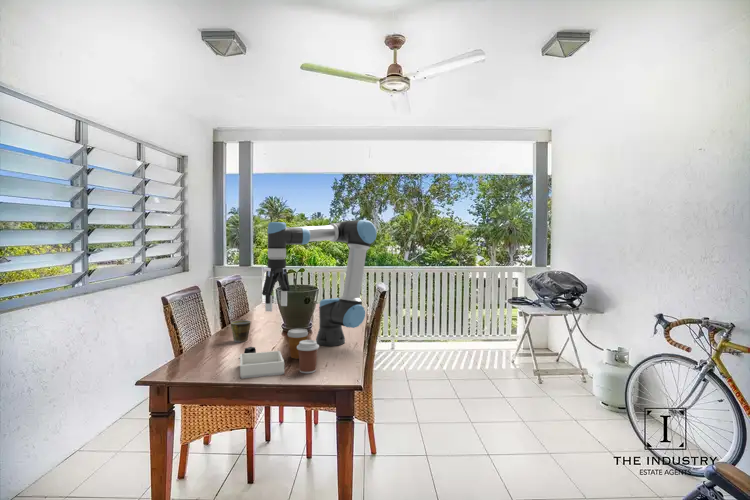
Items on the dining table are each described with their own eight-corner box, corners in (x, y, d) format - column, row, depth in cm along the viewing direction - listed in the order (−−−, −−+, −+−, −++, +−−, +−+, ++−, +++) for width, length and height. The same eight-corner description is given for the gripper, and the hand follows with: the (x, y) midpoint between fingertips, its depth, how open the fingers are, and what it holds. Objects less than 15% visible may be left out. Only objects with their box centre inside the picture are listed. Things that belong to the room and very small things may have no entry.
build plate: (245, 362, 176) (245, 352, 176) (233, 360, 180) (233, 350, 180) (265, 355, 187) (265, 345, 187) (254, 353, 191) (254, 343, 191)
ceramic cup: (236, 338, 217) (236, 319, 216) (253, 339, 215) (253, 320, 215) (224, 344, 204) (224, 324, 204) (242, 345, 202) (242, 325, 202)
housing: (279, 362, 176) (279, 350, 175) (284, 374, 160) (284, 361, 160) (239, 365, 170) (239, 354, 170) (240, 378, 154) (240, 365, 154)
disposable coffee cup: (283, 358, 181) (283, 332, 181) (294, 352, 190) (294, 327, 190) (301, 360, 178) (301, 333, 177) (312, 355, 187) (312, 329, 186)
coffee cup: (320, 373, 161) (320, 343, 161) (297, 375, 159) (297, 345, 158) (317, 366, 170) (317, 338, 170) (295, 368, 168) (295, 339, 167)
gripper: (282, 257, 182) (282, 303, 183) (253, 259, 158) (253, 313, 159) (297, 257, 180) (297, 304, 181) (270, 260, 156) (270, 314, 157)
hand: (276, 308), depth 170 cm, fingers open, 13 cm apart
